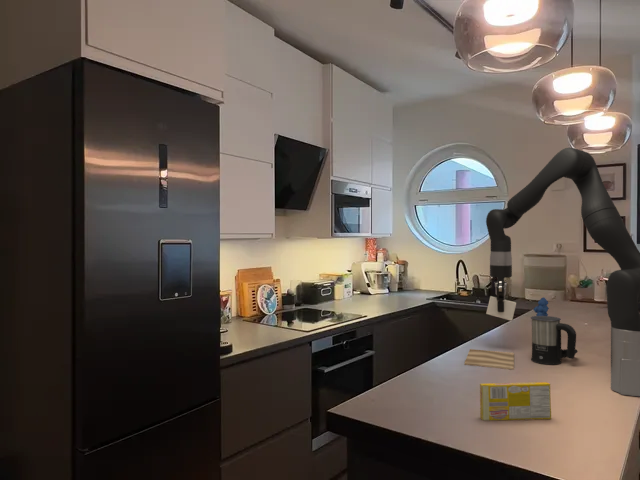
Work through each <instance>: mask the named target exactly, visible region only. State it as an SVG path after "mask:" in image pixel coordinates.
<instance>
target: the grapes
mask: <svg viewBox="0 0 640 480" xmlns="http://www.w3.org/2000/svg"><path fill="white" fill-rule="evenodd" d="M537 304H538V305H536V306H535V307H534V308H533V311H534V313H536V314H535V316H549V314H548V311H549V309H550V308H549V307H548V304H549V301H548V300H547V298H546V297H544V296H543V297H541V298H540V299H539V300H538V302H537Z"/></svg>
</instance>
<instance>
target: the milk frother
mask: <svg viewBox="0 0 640 480" xmlns="http://www.w3.org/2000/svg"><path fill="white" fill-rule="evenodd" d="M530 319H531V358H530V360H531V361H532V362H534V363H537V364H541V365H559V364H561V363H562V360H561V359H564V358H568V359H570V360H572V359H573V358H575V355H576V354H577V353H578V350H577V349H576V345H577V332H576V330H575V329H574V327H572V325H570V324H567V323H562V322H561V319H562V318H560V317H557V316H552V315H548V316H536V315H533V316H531V317H530ZM562 331H565V332H566V334H567V345H566V348H565V349H562Z"/></svg>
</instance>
